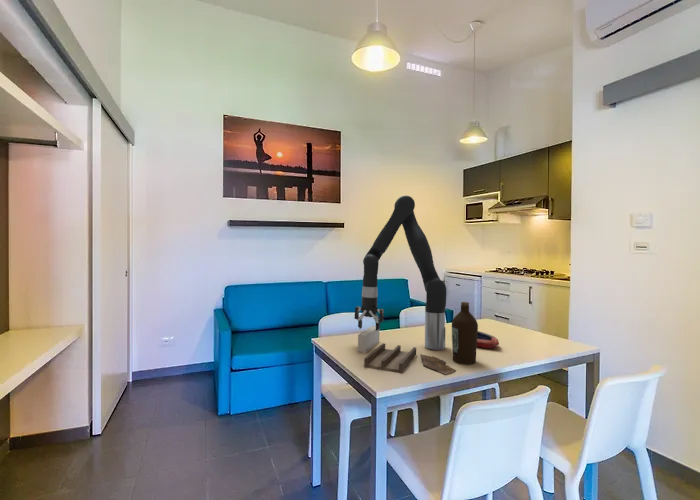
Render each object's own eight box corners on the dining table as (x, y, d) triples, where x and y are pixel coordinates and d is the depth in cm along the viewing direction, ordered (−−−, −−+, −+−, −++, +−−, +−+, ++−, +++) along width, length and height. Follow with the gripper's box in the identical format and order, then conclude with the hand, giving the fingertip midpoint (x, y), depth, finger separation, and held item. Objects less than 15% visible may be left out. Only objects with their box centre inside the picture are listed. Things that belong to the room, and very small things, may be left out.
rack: (416, 355, 158) (416, 347, 158) (402, 372, 136) (402, 363, 136) (382, 350, 164) (382, 343, 164) (364, 366, 142) (364, 358, 142)
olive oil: (472, 357, 156) (473, 300, 155) (481, 365, 145) (482, 304, 145) (448, 357, 156) (449, 300, 155) (455, 365, 145) (456, 304, 145)
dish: (469, 334, 197) (469, 325, 197) (509, 350, 168) (509, 339, 168) (444, 336, 192) (444, 327, 192) (481, 353, 163) (481, 342, 163)
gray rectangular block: (379, 342, 179) (379, 326, 179) (366, 353, 161) (366, 335, 161) (371, 341, 181) (372, 325, 181) (357, 352, 162) (358, 334, 162)
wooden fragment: (460, 375, 135) (460, 372, 135) (432, 376, 133) (432, 373, 133) (435, 354, 160) (435, 352, 160) (411, 355, 159) (411, 353, 158)
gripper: (386, 296, 171) (385, 329, 171) (358, 293, 177) (357, 326, 177) (381, 298, 164) (380, 332, 164) (353, 295, 170) (352, 329, 170)
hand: (368, 329), depth 171 cm, fingers open, 8 cm apart
